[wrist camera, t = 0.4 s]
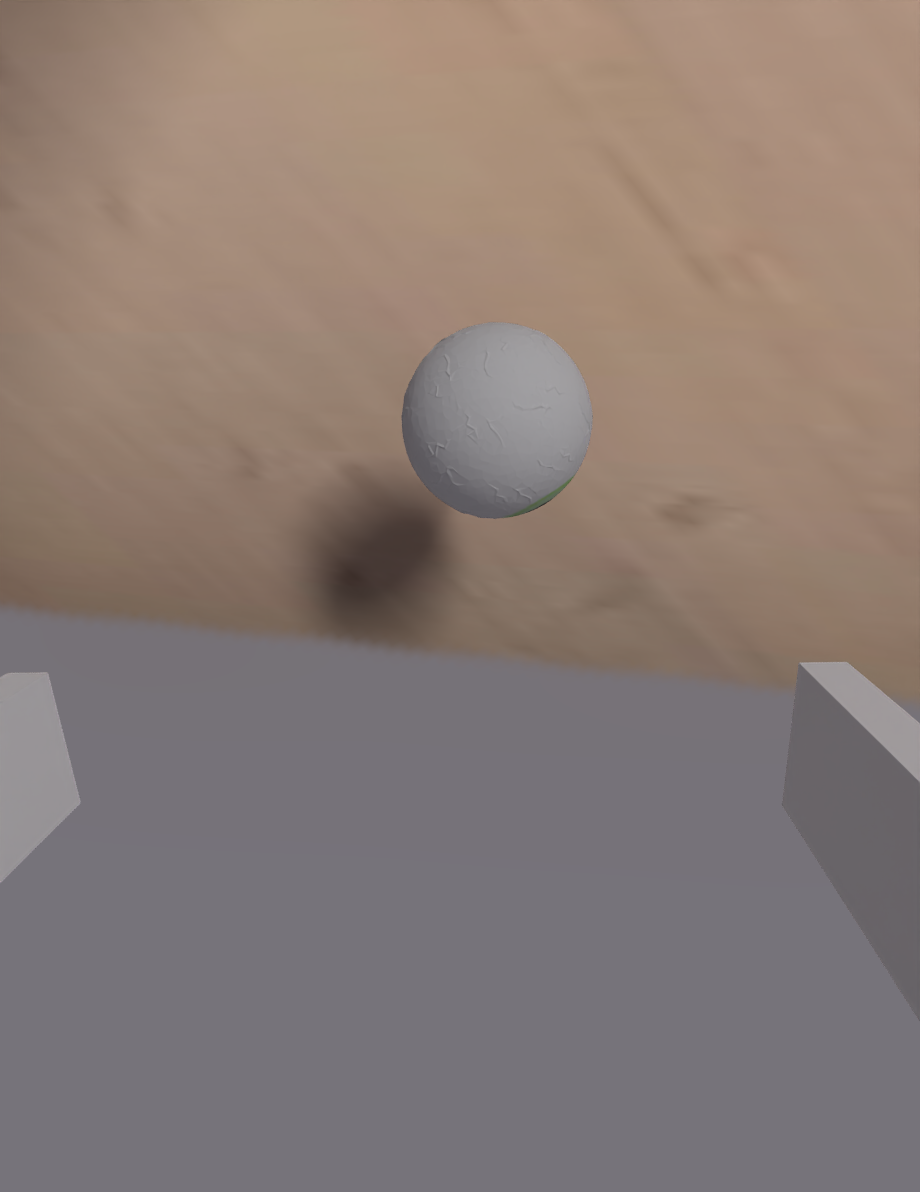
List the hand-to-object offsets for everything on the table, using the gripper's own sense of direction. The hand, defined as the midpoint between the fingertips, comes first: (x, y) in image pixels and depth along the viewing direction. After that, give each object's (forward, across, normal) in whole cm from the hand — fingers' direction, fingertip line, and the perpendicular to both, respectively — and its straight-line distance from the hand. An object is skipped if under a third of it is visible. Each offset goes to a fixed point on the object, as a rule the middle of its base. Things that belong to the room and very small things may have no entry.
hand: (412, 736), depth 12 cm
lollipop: (+28, +1, +4) cm, 28 cm away
